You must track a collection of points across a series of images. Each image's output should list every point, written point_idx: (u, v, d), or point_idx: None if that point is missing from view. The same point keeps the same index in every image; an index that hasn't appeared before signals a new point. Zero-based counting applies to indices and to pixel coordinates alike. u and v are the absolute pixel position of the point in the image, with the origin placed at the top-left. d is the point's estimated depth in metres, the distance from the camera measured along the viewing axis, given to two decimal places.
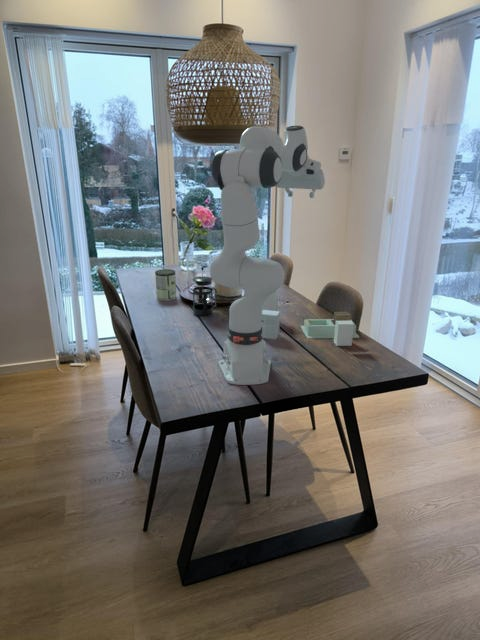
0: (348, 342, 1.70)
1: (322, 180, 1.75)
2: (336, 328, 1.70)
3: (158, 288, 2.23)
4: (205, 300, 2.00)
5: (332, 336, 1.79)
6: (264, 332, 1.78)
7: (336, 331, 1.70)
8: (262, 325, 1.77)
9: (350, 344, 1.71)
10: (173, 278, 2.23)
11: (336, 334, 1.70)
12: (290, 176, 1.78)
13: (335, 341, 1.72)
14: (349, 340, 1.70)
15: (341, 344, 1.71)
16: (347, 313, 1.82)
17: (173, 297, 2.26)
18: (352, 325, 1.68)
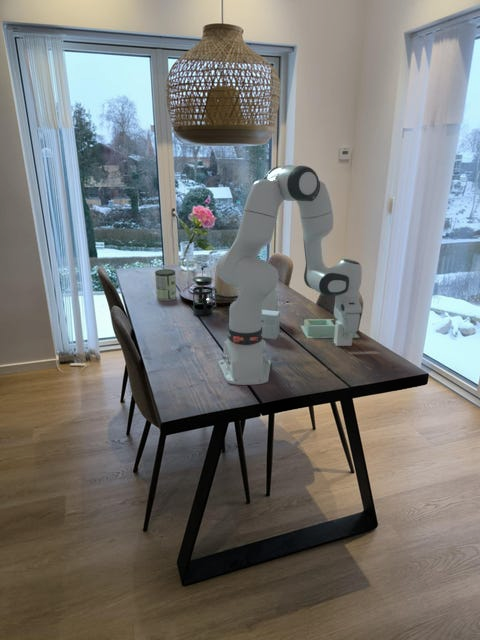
0: (348, 342, 1.70)
1: (351, 324, 1.59)
2: (336, 328, 1.70)
3: (158, 288, 2.23)
4: (205, 300, 2.00)
5: (332, 336, 1.79)
6: (264, 332, 1.78)
7: (336, 331, 1.70)
8: (262, 325, 1.77)
9: (350, 344, 1.71)
10: (173, 278, 2.23)
11: (336, 334, 1.70)
12: None
13: (335, 341, 1.72)
14: (349, 340, 1.70)
15: (341, 344, 1.71)
16: None
17: (173, 297, 2.26)
18: None
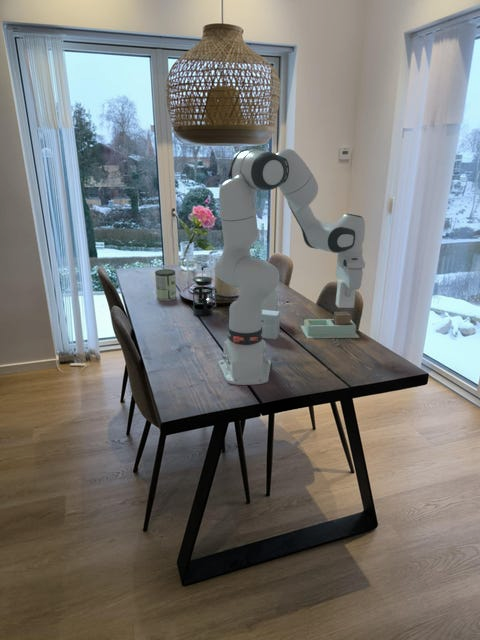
0: (350, 302, 1.65)
1: (354, 280, 1.54)
2: (338, 287, 1.65)
3: (158, 288, 2.23)
4: (205, 300, 2.00)
5: (332, 336, 1.79)
6: (264, 332, 1.78)
7: (338, 290, 1.65)
8: (262, 325, 1.77)
9: (353, 303, 1.66)
10: (173, 278, 2.23)
11: (339, 293, 1.65)
12: None
13: (337, 301, 1.67)
14: (351, 299, 1.65)
15: (343, 304, 1.66)
16: (347, 313, 1.82)
17: (173, 297, 2.26)
18: None
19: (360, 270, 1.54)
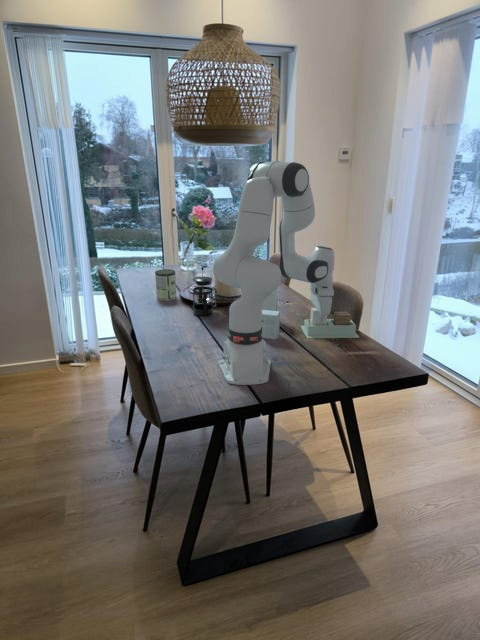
0: None
1: (324, 306, 1.70)
2: (311, 315, 1.81)
3: (158, 288, 2.23)
4: (205, 300, 2.00)
5: (332, 336, 1.79)
6: (264, 332, 1.78)
7: (311, 317, 1.82)
8: (262, 325, 1.77)
9: None
10: (173, 278, 2.23)
11: (311, 320, 1.81)
12: None
13: None
14: None
15: None
16: (347, 313, 1.82)
17: (173, 297, 2.26)
18: None
19: (330, 297, 1.70)
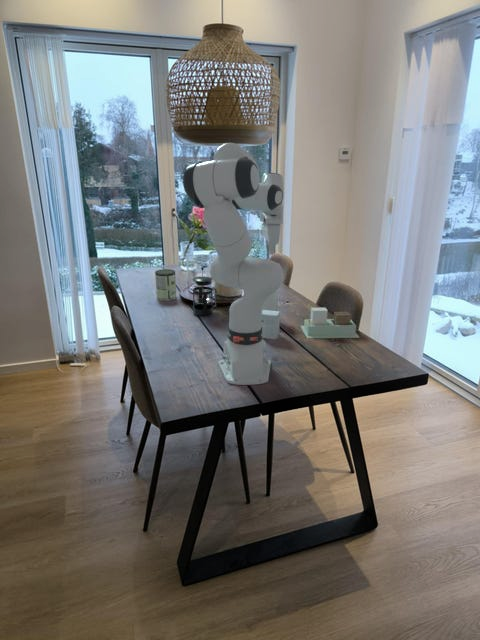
0: None
1: (272, 235, 1.63)
2: (311, 315, 1.81)
3: (158, 288, 2.23)
4: (205, 300, 2.00)
5: (332, 336, 1.79)
6: (264, 332, 1.78)
7: (311, 317, 1.82)
8: (262, 325, 1.77)
9: None
10: (173, 278, 2.23)
11: (311, 320, 1.81)
12: None
13: None
14: None
15: None
16: (347, 313, 1.82)
17: (173, 297, 2.26)
18: (326, 311, 1.79)
19: (278, 226, 1.63)
